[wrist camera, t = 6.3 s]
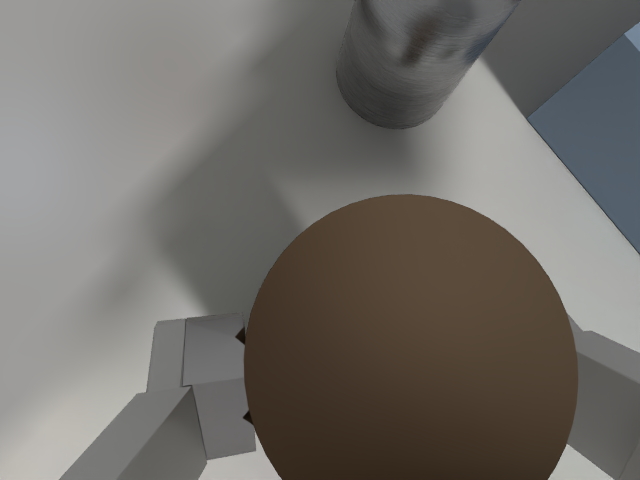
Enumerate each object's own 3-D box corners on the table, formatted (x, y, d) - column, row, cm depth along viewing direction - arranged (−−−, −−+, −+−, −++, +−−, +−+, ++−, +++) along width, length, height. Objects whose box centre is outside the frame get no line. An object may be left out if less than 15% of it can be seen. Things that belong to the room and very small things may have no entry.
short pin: (400, 6, 19) (466, -150, 13) (470, 90, 18) (569, -33, 13) (313, 60, 18) (342, -82, 12) (384, 150, 18) (449, 48, 12)
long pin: (327, 266, 16) (436, 136, 7) (406, 369, 16) (643, 389, 6) (222, 344, 15) (171, 324, 6) (303, 457, 15) (393, 637, 5)
